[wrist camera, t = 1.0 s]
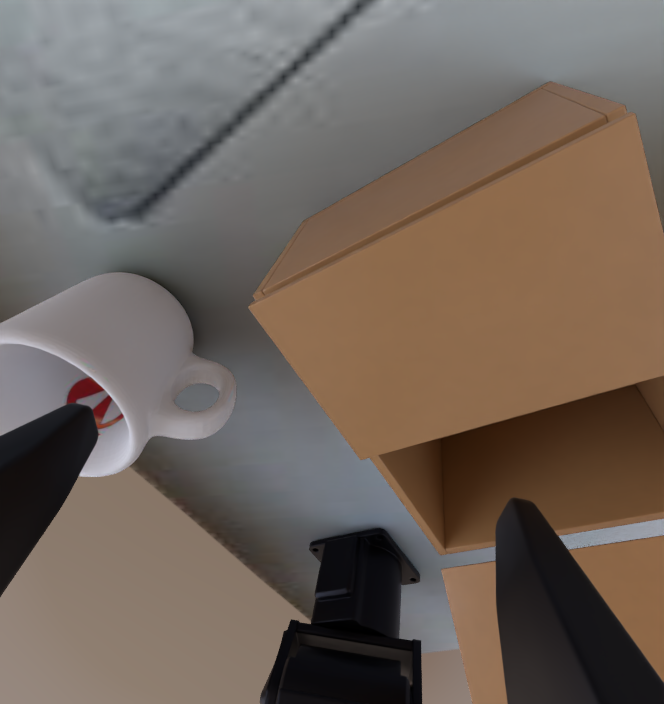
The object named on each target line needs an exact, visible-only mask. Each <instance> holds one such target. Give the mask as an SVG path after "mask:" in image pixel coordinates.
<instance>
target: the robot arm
mask: <svg viewBox="0 0 664 704" xmlns="http://www.w3.org/2000/svg"><path fill="white" fill-rule="evenodd" d="M97 440H98V428H97V425H96V421H95V417H94V413H93V410H92V408H91V407H90V406H87V405H82V404H78V403H69V404H66V405H64V406H62V407H60V408H58V409H56V410H54V411H52V412H50V413H47V414H45V415H43V416H41V417H39V418H37V419H35V420H33V421H30V422H28V423H26V424H24V425H22V426H20V427H18V428H16V429H14V430H11V431H9V432H7V433H5V434H3V435H1V436H0V597H1V595H2V594H3V592H4V591H5V589H6V588H7V586H8V585H9V583H10V582H11V581H12V579H13V578H14V576H15V575H16V573H17V572H18V570H19V569H20V567H21V566H22V564H23V563H24V561H25V560H26V558H27V557H28V555H29V554H30V553H31V551H32V550H33V548H34V547H35V545H36V544H37V542H38V541H39V539H40V538H41V536H42V535H43V534H44V532H45V531H46V529H47V527H48V526H49V525H50V523H51V522H52V520H53V519H54V517H55V516H56V514H57V513H58V511H59V510H60V508H61V507H62V505H63V503H64V502H65V500H66V498H67V496H68V495H69V493H70V491H71V489H72V487H73V485H74V483H75V482H76V480H77V478H78V476H79V474H80V473H81V471H82V469H83V467H84V465H85V463H86V461H87V460H88V458H89V456H90V454H91V452H92V450H93V449H94V447H95V445H96V443H97ZM495 537H496V608H497V619H498V627H499V636H500V644H501V653H502V661H503V669H504V678H505V686H506V695H507V703H508V704H664V682H663V681H662V679H661V678H660V676H659V675H658V674H657V672H656V671H655V670H654V668H653V667H652V665H651V664H650V663H649V661H648V660H647V658H646V657H645V656H644V654H643V653H642V652H641V650H640V649H639V647H638V646H637V645H636V643H635V642H634V640H633V639H632V638H631V636H630V635H629V634H628V632H627V631H626V629H625V628H624V627H623V625H622V624H621V622H620V621H619V620H618V618H617V617H616V616H615V614H614V613H613V611H612V610H611V609H610V607H609V606H608V604H607V603H606V602H605V600H604V599H603V598H602V596H601V595H600V593H599V592H598V591H597V589H596V588H595V586H594V585H593V584H592V582H591V581H590V580H589V578H588V577H587V575H586V574H585V573H584V571H583V570H582V568H581V567H580V566H579V564H578V563H577V562H576V560H575V559H574V557H573V556H572V555H571V553H570V552H569V550H568V549H567V548H566V546H565V545H564V544H563V542H562V541H561V539H560V538H559V537H558V535H557V534H556V532H555V531H554V530H553V528H552V527H551V526H550V524H549V523H548V521H547V520H546V519H545V517H544V516H543V514H542V513H541V512H540V510H539V509H538V508H537V506H536V505H535V504H534V503H533V502H532V501H529V500H525V499H521V498H516V497H512V498H511V499H509V501H508V502H507V504H506V506H505V508H504V510H503V511H502V513H501V515H500V517H499V518H498V521H497V524H496V531H495ZM309 550H310V551H311V552H312V554H313V555H314V556H315V557H316V558H317V559H318V560H319V561H320V562H321V565H320V570H319V575H318V580H317V585H316V590H315V597H316V600H315V605H314V610H313V615H312V620H311V624H306V623H300V622H299V621H297V620H291V621H290V624H289V627H288V630H286V631H284V633H283V637H282V641H281V645H280V649H279V652H278V655H277V658H276V661H275V664H274V666H273V669H272V671H271V673H270V675H269V677H268V680H267V682H266V684H265V686H264V689H263V691H262V693H261V697H260V704H422V673H421V672H422V671H421V641H420V640H414V639H413V640H412V641H410V640H404V639H399V630H400V607H401V585H407V584H414V583H418V582H420V574H419V573H418V571H417V570H416V569H415V568H414V566H413V565H412V564H411V562H410V561H409V560H408V559H407V557H406V556H405V555H404V553H403V552H402V551H401V550H400V548H399V547H398V546H397V544H396V543H395V542H394V541H393V539H392V538H391V537H390V535H389V534H388V533H387V532H386V531H385V530H384V529H380V528H378V529H372V530H368V531H363V532H358V533H353V534H348V535H343V536H338V537H333V538H328V539H323V540H318V541H314V542H311V543H310V548H309Z"/></svg>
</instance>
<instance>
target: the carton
mask: <svg viewBox="0 0 664 704" xmlns="http://www.w3.org/2000/svg"><path fill="white" fill-rule="evenodd" d="M253 297H254V298H255V300H256V301H254V302H252V303H251V304H250V305H249V307H248V308H249V309H250V311H251V312H252V314H253V315H254V316H255V318H256V319H257V320H258V322H259V323H260V324H261V326H262V327H263V328H264V330H265V331H266V333H267V334H268V335H269V337H270V338H271V339H272V341H273V342H274V343H275V345H276V346H277V347H278V349H279V350H280V351H281V353H282V354H283V356H284V357H285V358H286V360H287V361H288V362H289V364H290V365H291V366H292V368H293V369H294V370H295V372H296V373H297V375H298V376H299V377H300V379H301V380H302V381H303V383H304V384H305V385H306V387H307V388H308V389H309V391H310V392H311V393H312V395H313V396H314V398H315V399H316V400H317V402H318V403H319V404H320V406H321V407H322V408H323V410H324V411H325V412H326V414H327V415H328V417H329V418H330V419H331V421H332V422H333V423H334V425H335V426H336V427H337V429H338V430H339V431H340V433H341V434H342V435H343V437H344V438H345V440H346V441H347V442H348V444H349V445H350V446H351V448H352V449H353V450H354V452H355V453H356V454H357V456H358V457H359V459H360V460H363V459H367V458H370V459H371V460H372V462H373V463H374V464H375V466H376V467H377V469H378V470H379V471H380V473H381V474H382V475H383V477H384V478H385V480H386V481H387V482H388V484H389V485H390V486H391V488H392V489H393V491H394V492H395V493H396V495H397V496H398V498H399V499H400V500H401V502H402V503H403V504H404V506H405V507H406V509H407V510H408V511H409V513H410V514H411V516H412V517H413V518H414V520H415V521H416V522H417V524H418V525H419V527H420V528H421V529H422V531H423V532H424V534H425V535H426V536H427V538H428V539H429V540H430V542H431V543H432V545H433V546H434V547H435V549H436V550H437V551H438V553H439V554H440V555H446V554H452V553H458V552H464V551H470V550H476V549H482V548H488V547H494V546H496V537H495V531H496V524H497V521H498V518H499V517H500V515H501V513H502V511H503V510H504V508H505V506H506V504H507V502H508V501H509V499H511V498H512V497H516V498H521V499H525V500H529V501H532V502H533V503H534V504H535V505H536V506H537V508H538V509H539V510H540V512H541V513H542V514H543V516H544V517H545V519H546V520H547V521H548V523H549V524H550V526H551V527H552V528H553V530H554V531H555V532H556V534H557V535H558V536H561V535H567V534H573V533H579V532H585V531H591V530H597V529H603V528H609V527H615V526H622V525H628V524H634V523H640V522H646V521H652V520H658V519H664V233H663V228H662V224H661V220H660V216H659V211H658V207H657V203H656V199H655V194H654V190H653V186H652V182H651V177H650V173H649V169H648V165H647V160H646V156H645V152H644V148H643V143H642V139H641V135H640V131H639V126H638V122H637V118H636V114H635V113H632V112H629V113H627V110H626V106H625V105H623V104H620V103H617V102H613V101H610V100H607V99H604V98H601V97H598V96H595V95H592V94H588V93H585V92H582V91H579V90H576V89H573V88H570V87H567V86H564V85H560V84H557V83H554V82H551V81H550V82H548V83H546V84H544V85H543V86H541V87H539V88H537V89H536V90H534V91H532V92H530V93H529V94H527V95H525V96H523V97H521V98H520V99H518V100H516V101H514V102H513V103H511V104H509V105H507V106H506V107H504V108H502V109H500V110H499V111H497V112H495V113H493V114H491V115H490V116H488V117H486V118H484V119H483V120H481V121H479V122H477V123H476V124H474V125H472V126H470V127H469V128H467V129H465V130H463V131H461V132H460V133H458V134H456V135H454V136H453V137H451V138H449V139H447V140H446V141H444V142H442V143H440V144H438V145H437V146H435V147H433V148H431V149H430V150H428V151H426V152H424V153H423V154H421V155H419V156H417V157H416V158H414V159H412V160H410V161H408V162H407V163H405V164H403V165H401V166H400V167H398V168H396V169H394V170H393V171H391V172H389V173H387V174H386V175H384V176H382V177H380V178H378V179H377V180H375V181H373V182H371V183H370V184H368V185H366V186H364V187H363V188H361V189H359V190H357V191H356V192H354V193H352V194H350V195H348V196H347V197H345V198H343V199H341V200H340V201H338V202H336V203H334V204H333V205H331V206H329V207H327V208H325V209H324V210H322V211H320V212H318V213H317V214H315V215H313V216H311V217H310V218H308V219H306V220H304V221H303V222H302V224H301V225H300V227H299V228H298V230H297V231H296V233H295V234H294V236H293V237H292V239H291V240H290V241H289V243H288V244H287V246H286V247H285V249H284V250H283V252H282V253H281V255H280V256H279V258H278V259H277V261H276V262H275V264H274V265H273V266H272V268H271V269H270V271H269V272H268V274H267V275H266V277H265V278H264V280H263V281H262V283H261V284H260V286H259V287H258V289H257V290H256V291H255V293H254V294H253Z"/></svg>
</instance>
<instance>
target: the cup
mask: <svg viewBox="0 0 664 704" xmlns="http://www.w3.org/2000/svg"><path fill="white" fill-rule="evenodd" d="M193 343H194V338H193V330H192V325H191V322H190V320H189V317H188V315H187V313H186V312H185V310H184V308H183V307H182V305H181V304H180V303H179V302H178V300H177V299H176V298H175V297H174V296H173V295H172V294H171V293H170V292H169V291H167V290H166V289H165V288H163V287H162V286H161V285H159V284H157V283H156V282H154V281H152V280H150V279H148V278H145V277H142V276H140V275H136V274H131V273H124V272H113V273H106V274H101V275H98V276H95V277H92V278H90V279H87V280H85V281H83V282H81V283H79V284H77V285H75V286H73V287H71V288H69V289H67V290H65V291H63V292H61V293H59V294H57V295H55V296H53V297H51V298H49V299H47V300H45V301H43V302H41V303H39V304H38V305H36V306H34V307H32V308H30V309H28V310H26V311H24V312H22V313H20V314H18V315H16V316H14V317H12V318H10V319H8V320H6V321H4V322H2V323H0V436H1V435H3V434H5V433H7V432H9V431H11V430H14V429H16V428H18V427H20V426H22V425H24V424H26V423H28V422H30V421H33V420H35V419H37V418H39V417H41V416H43V415H45V414H47V413H50V412H52V411H54V410H56V409H58V408H60V407H62V406H64V405H66V404H69V403H78V404H82V405H87V406H90V407H91V408H92V410H93V413H94V417H95V421H96V425H97V428H98V440H97V443H96V445H95V447H94V449H93V450H92V452H91V454H90V456H89V458H88V460H87V461H86V463H85V465H84V467H83V469H82V471H81V473H80V474H79V476H84V477H101V476H107V475H112V474H115V473H118V472H120V471H122V470H124V469H126V468H127V467H129V466H130V465H131V464H132V463H133V462H134V461H135V460H136V459H137V458H138V456H139V455H140V454H141V452H142V450H143V448H144V446H145V445H146V443H147V441H148V440H149V439H150V438H151V437H153V436H165V437H171V438H176V439H186V440H194V439H201V438H205V437H208V436H210V435H212V434H214V433H216V432H217V431H218V430H219V429H221V428H222V426H223V425H224V424H225V423H226V422H227V420H228V419H229V417H230V415H231V413H232V411H233V408H234V404H235V400H236V394H237V386H236V380H235V378H234V375H233V374H232V373H231V371H230V370H229V369H227V368H226V367H224V366H223V365H221V364H218V363H216V362H213V361H210V360H207V359H204V358H201V357H198V356H196V355H194V354H193V353H192V351H193ZM197 383H205V384H209V385H212V386H214V387H215V388H217V390H218V391H219V398H218V400H217V401H216V402H215V404H214V405H213V406H211V407H210V408H208V409H206V410H203V411H198V412H192V411H186V410H183V409H181V408H179V407H178V406H177V405H176V404H175V403H174V400H175V399H176V397H177V396H178V395H179V393H180V392H181V391H182V390H184V389H185V388H186V387H188V386H190V385H193V384H197Z"/></svg>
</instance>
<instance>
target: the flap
mask: <svg viewBox="0 0 664 704" xmlns="http://www.w3.org/2000/svg"><path fill="white" fill-rule="evenodd" d="M569 552H570V553H571V555H572V556H573V557H574V559H575V560H576V562H577V563H578V564H579V566H580V567H581V568H582V570H583V571H584V573H585V574H586V575H587V577H588V578H589V580H590V581H591V582H592V584H593V585H594V586H595V588H596V589H597V591H598V592H599V593H600V595H601V596H602V598H603V599H604V600H605V602H606V603H607V604H608V606H609V607H610V609H611V610H612V611H613V613H614V614H615V616H616V617H617V618H618V620H619V621H620V622H621V624H622V625H623V627H624V628H625V629H626V631H627V632H628V634H629V635H630V636H631V638H632V639H633V640H634V642H635V643H636V645H637V646H638V647H639V649H640V650H641V652H642V653H643V654H644V656H645V657H646V658H647V660H648V661H649V663H650V664H651V665H652V667H653V668H654V670H655V671H656V672H657V674H658V675H659V676H660V678H661V679H662V681H663V682H664V535H662V536H655V537H649V538H642V539H636V540H629V541H622V542H616V543H609V544H603V545H596V546H590V547H583V548H576V549H570V550H569ZM441 571H442V575H443V579H444V583H445V588H446V592H447V596H448V601H449V605H450V609H451V613H452V618H453V622H454V626H455V630H456V635H457V639H458V643H459V648H460V652H461V656H462V660H463V664H464V668H465V673H466V677H467V682H468V686H469V690H470V694H471V699H472V703H473V704H508V703H507V695H506V686H505V678H504V669H503V661H502V653H501V644H500V636H499V627H498V619H497V608H496V561H491V562H484V563H477V564H471V565H464V566H458V567H451V568H444V569H441Z"/></svg>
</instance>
